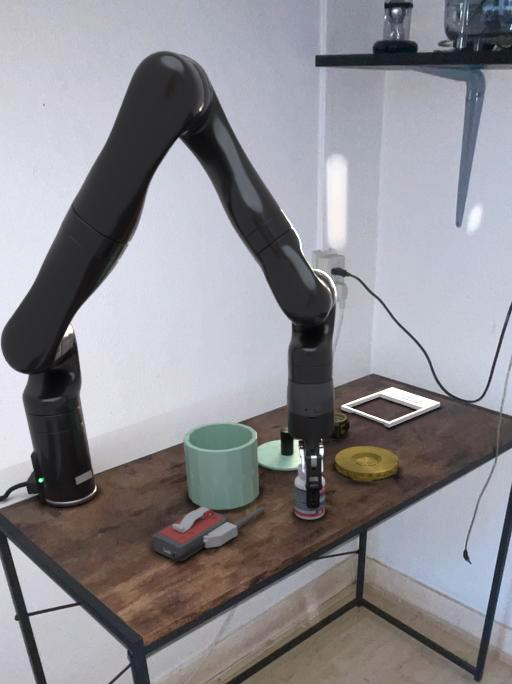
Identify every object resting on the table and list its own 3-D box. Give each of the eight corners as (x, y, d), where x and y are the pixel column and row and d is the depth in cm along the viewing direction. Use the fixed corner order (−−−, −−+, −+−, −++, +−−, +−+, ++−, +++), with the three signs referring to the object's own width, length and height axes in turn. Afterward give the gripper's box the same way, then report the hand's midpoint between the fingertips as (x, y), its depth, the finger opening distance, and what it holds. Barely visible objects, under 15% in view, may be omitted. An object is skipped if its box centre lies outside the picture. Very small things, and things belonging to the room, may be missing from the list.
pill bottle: (322, 522, 116) (322, 475, 111) (291, 519, 116) (291, 472, 112) (327, 506, 120) (327, 460, 116) (297, 504, 121) (297, 458, 117)
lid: (253, 474, 131) (251, 445, 128) (253, 445, 143) (252, 417, 140) (324, 472, 132) (324, 443, 128) (318, 443, 143) (318, 415, 140)
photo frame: (440, 401, 159) (389, 422, 149) (440, 406, 160) (388, 427, 150) (392, 386, 169) (341, 404, 158) (392, 390, 169) (340, 409, 159)
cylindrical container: (186, 513, 119) (180, 452, 113) (192, 479, 130) (187, 423, 124) (259, 510, 119) (256, 450, 113) (259, 477, 130) (256, 421, 124)
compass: (373, 451, 139) (373, 441, 138) (410, 474, 130) (411, 463, 129) (323, 464, 134) (323, 454, 133) (358, 489, 125) (359, 478, 124)
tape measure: (310, 433, 148) (310, 417, 146) (331, 424, 152) (331, 408, 150) (335, 442, 143) (335, 426, 142) (355, 432, 148) (355, 416, 146)
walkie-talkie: (185, 572, 103) (268, 517, 117) (183, 547, 101) (267, 494, 115) (145, 553, 108) (229, 502, 122) (142, 529, 106) (228, 480, 119)
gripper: (285, 390, 114) (287, 476, 123) (288, 422, 102) (291, 516, 110) (330, 388, 115) (329, 475, 123) (339, 421, 102) (337, 515, 110)
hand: (311, 494), depth 116 cm, fingers open, 8 cm apart
